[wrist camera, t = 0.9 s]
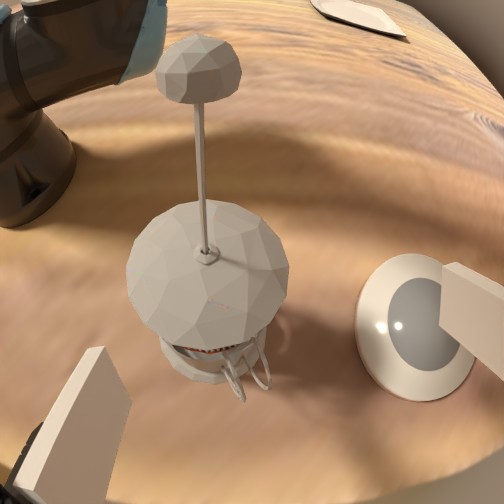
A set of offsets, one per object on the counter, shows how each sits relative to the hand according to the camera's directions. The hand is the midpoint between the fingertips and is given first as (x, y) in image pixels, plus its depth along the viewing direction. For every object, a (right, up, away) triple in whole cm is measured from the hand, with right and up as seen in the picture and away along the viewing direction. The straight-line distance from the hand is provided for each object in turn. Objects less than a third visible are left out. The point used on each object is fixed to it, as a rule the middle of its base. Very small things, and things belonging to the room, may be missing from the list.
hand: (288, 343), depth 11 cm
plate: (+30, +76, +62) cm, 102 cm away
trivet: (+17, -5, +19) cm, 25 cm away
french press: (-4, -5, +17) cm, 18 cm away
